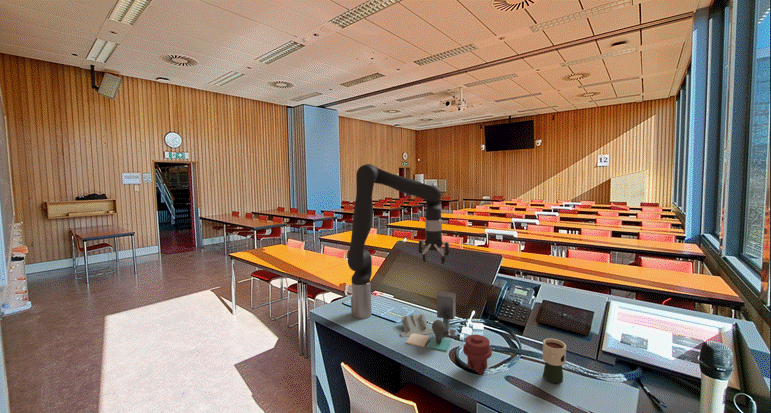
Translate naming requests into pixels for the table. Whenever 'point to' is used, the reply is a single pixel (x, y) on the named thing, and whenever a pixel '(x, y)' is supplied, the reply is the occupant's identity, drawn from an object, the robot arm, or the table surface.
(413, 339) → the cream pad
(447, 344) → the teal pad
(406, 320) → the metal bracket
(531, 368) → the table surface
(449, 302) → the control housing
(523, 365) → the table surface
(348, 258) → the robot arm
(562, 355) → the character mug
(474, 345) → the mechanical component
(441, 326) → the light bulb
